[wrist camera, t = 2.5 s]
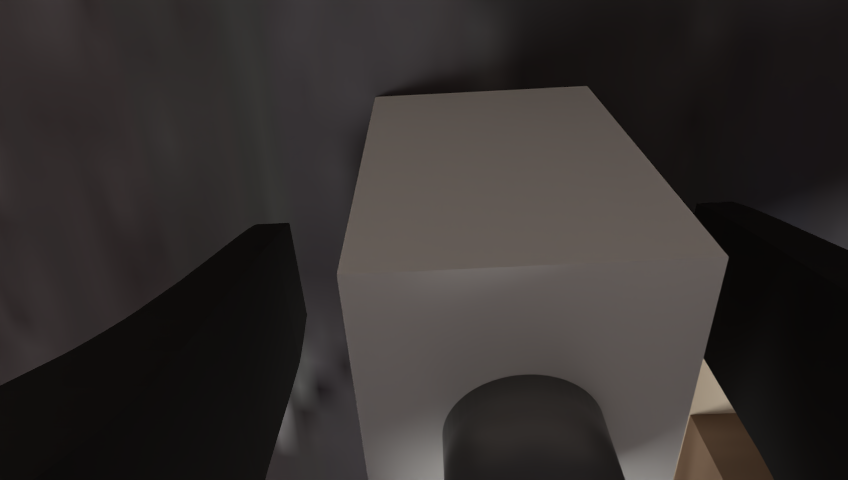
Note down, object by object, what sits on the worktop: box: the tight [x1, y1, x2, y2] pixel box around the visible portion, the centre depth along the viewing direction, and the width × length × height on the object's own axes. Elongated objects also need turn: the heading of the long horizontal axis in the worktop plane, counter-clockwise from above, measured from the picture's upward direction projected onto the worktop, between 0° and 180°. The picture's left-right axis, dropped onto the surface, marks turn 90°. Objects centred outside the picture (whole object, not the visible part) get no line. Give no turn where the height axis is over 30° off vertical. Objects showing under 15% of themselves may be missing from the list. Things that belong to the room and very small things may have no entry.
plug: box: [337, 86, 729, 480], centre depth 9 cm, size 4×5×7 cm
